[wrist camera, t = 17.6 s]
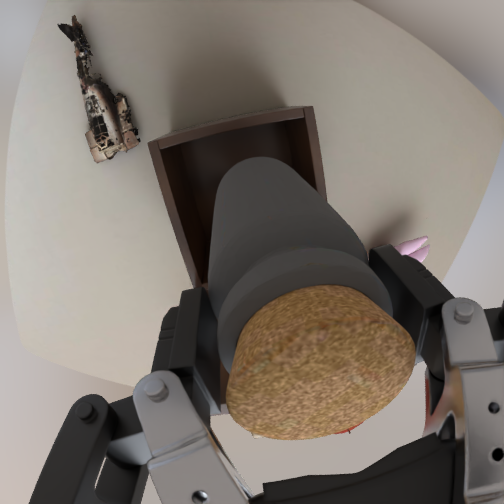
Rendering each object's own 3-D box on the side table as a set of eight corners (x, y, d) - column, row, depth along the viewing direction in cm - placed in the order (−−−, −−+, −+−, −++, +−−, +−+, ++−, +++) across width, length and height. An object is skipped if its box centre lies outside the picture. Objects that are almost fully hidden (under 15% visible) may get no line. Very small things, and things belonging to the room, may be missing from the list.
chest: (170, 132, 29) (147, 142, 20) (287, 106, 29) (313, 105, 20) (202, 245, 35) (195, 293, 27) (307, 222, 35) (333, 263, 26)
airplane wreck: (100, 5, 21) (80, -8, 16) (144, 144, 29) (129, 151, 24) (58, 30, 21) (33, 22, 16) (100, 164, 30) (79, 175, 25)
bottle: (198, 186, 19) (143, 379, 6) (277, 138, 18) (417, 237, 5) (245, 254, 21) (275, 464, 8) (318, 213, 20) (442, 388, 7)
